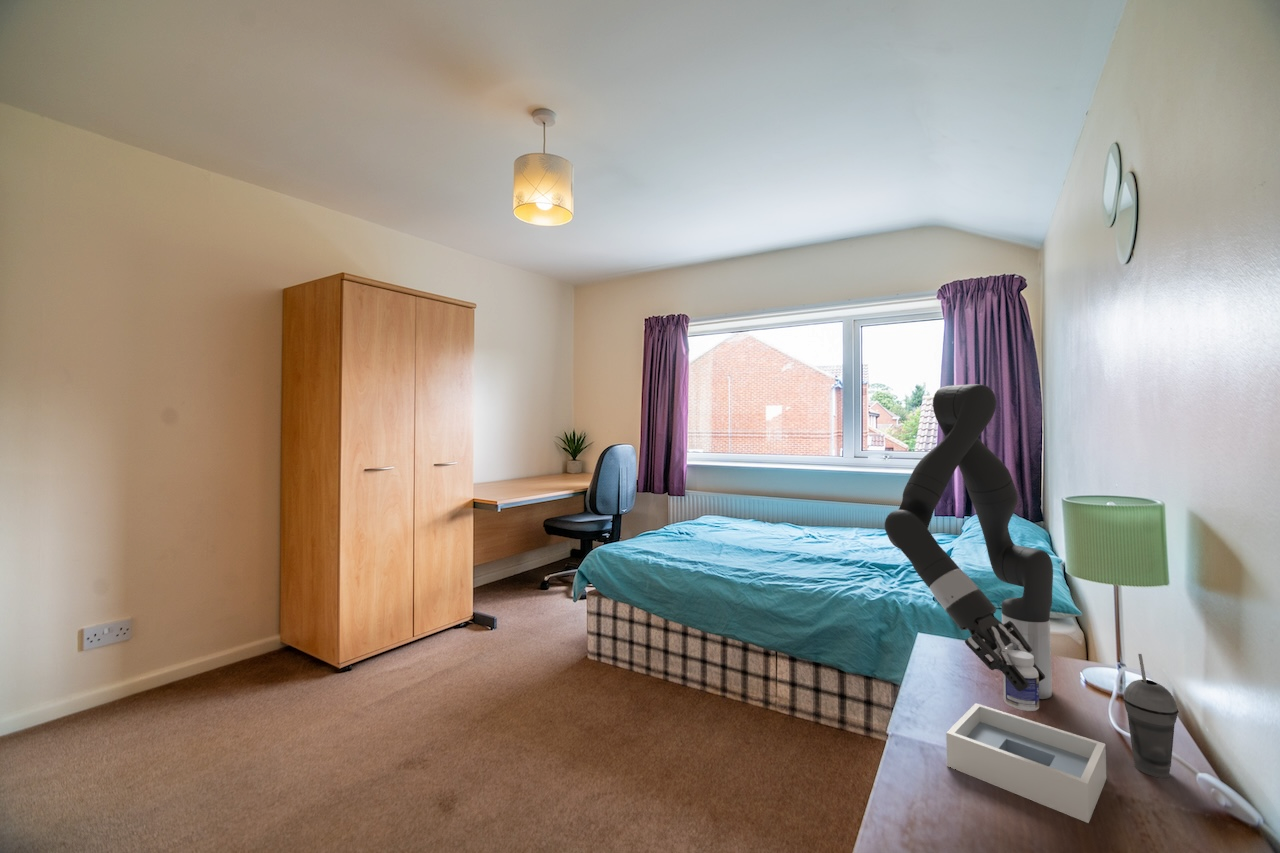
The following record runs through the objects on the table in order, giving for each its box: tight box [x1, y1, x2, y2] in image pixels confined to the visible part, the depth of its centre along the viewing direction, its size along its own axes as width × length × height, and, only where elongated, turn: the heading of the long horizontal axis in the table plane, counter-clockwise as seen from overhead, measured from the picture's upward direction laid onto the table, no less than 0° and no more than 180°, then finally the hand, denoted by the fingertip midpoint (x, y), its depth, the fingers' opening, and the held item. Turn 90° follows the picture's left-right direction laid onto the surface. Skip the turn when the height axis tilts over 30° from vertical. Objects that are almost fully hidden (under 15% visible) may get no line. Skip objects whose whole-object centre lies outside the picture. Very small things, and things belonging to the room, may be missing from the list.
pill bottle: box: [1002, 650, 1040, 712], centre depth 97 cm, size 5×5×9 cm
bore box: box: [945, 702, 1107, 824], centre depth 97 cm, size 16×20×6 cm
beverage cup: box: [1122, 653, 1179, 779], centre depth 97 cm, size 7×7×20 cm
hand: (1032, 684), depth 96 cm, fingers closed on pill bottle, 5 cm apart
